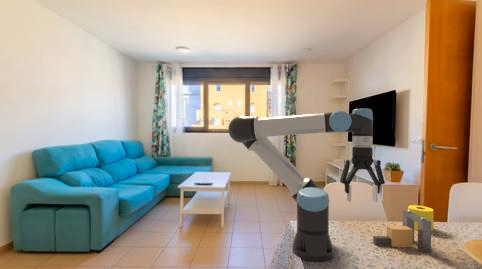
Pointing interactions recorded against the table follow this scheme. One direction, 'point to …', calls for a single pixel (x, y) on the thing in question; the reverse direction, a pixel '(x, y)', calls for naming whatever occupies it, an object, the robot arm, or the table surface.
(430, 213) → the tape roll
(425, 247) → the gray arch block
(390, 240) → the plug
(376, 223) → the table surface
